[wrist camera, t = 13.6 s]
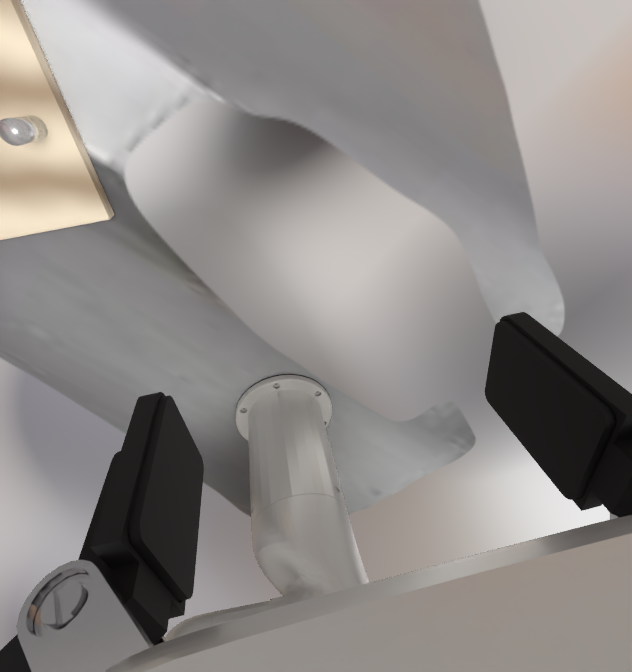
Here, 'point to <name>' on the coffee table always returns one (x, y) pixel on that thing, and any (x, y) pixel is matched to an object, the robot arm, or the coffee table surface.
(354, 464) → the coffee table surface
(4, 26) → the pin board
